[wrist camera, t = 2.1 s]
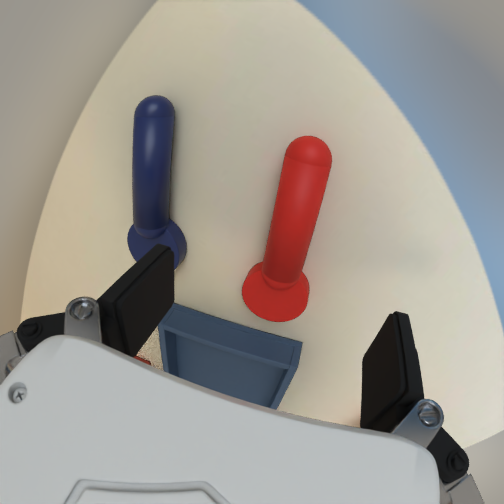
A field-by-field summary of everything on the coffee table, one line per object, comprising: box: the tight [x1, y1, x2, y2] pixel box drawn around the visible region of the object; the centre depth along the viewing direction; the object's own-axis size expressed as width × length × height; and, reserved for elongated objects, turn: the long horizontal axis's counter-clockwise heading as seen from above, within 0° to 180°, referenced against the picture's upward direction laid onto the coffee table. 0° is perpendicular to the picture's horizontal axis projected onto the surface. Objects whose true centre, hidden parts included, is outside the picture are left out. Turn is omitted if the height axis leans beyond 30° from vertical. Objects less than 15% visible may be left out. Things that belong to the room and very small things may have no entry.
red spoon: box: [242, 136, 332, 322], centre depth 17 cm, size 4×13×2 cm, turn 171°
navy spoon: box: [127, 95, 187, 270], centre depth 17 cm, size 4×13×2 cm, turn 171°
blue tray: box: [158, 303, 302, 410], centre depth 26 cm, size 11×16×3 cm
